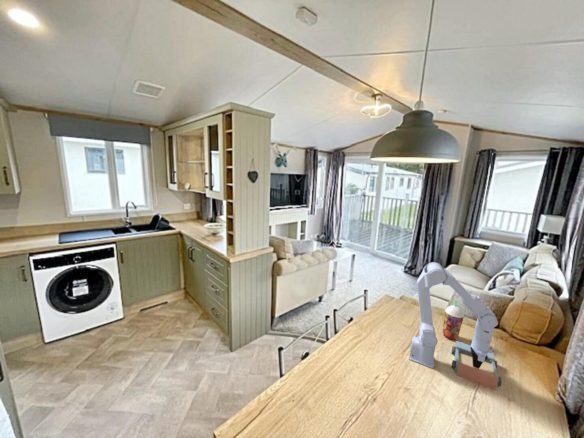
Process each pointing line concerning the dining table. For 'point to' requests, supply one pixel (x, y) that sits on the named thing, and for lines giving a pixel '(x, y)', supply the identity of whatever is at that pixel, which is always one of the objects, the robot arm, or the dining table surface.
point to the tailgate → (477, 375)
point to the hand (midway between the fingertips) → (475, 366)
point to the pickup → (465, 357)
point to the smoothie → (452, 321)
